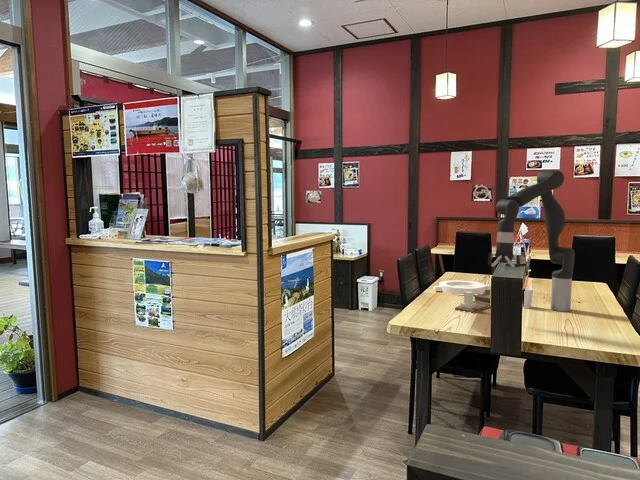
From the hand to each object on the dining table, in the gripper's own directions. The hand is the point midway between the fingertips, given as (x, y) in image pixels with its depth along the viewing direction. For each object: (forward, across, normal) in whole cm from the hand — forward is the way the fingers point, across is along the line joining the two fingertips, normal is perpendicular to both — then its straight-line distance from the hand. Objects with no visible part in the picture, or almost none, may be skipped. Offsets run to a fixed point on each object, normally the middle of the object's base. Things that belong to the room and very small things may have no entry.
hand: (503, 275), depth 213 cm
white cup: (+20, -4, -37) cm, 42 cm away
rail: (+21, +18, -20) cm, 34 cm away
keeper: (+20, +19, -13) cm, 30 cm away
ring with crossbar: (+20, +37, -61) cm, 74 cm away
